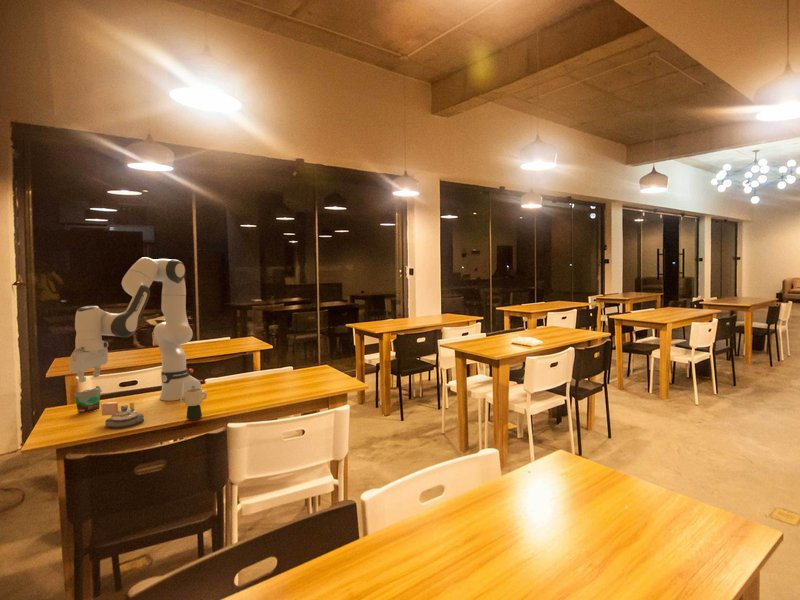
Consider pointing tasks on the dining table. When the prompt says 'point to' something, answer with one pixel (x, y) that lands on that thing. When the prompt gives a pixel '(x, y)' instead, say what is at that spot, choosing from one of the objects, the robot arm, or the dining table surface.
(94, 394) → the food container
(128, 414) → the multicoloured piece
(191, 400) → the character mug
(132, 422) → the handwheel with crank handle
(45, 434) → the dining table surface
